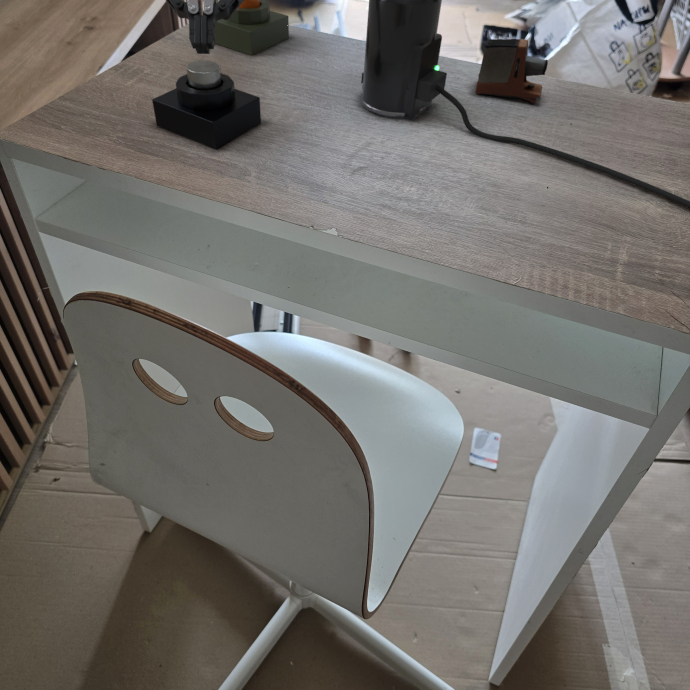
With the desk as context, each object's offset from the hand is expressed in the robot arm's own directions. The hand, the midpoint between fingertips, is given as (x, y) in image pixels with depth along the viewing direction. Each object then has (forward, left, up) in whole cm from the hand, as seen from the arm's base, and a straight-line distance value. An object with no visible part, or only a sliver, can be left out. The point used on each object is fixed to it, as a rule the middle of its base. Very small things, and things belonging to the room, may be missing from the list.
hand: (202, 50), depth 72 cm
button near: (0, 0, -4) cm, 4 cm away
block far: (+15, -27, -9) cm, 32 cm away
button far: (+15, -27, -4) cm, 31 cm away
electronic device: (-28, -35, -9) cm, 46 cm away
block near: (0, 0, -9) cm, 9 cm away
